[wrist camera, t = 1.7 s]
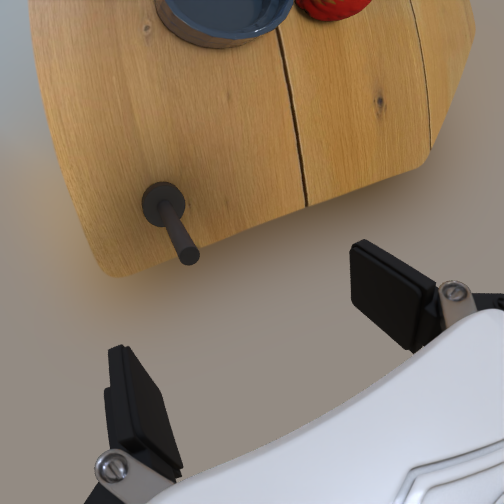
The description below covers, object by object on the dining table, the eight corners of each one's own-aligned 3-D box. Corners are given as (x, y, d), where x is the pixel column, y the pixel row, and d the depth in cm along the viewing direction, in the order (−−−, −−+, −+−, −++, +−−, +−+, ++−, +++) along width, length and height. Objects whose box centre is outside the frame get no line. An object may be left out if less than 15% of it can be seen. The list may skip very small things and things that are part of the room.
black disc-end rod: (149, 227, 32) (170, 294, 21) (136, 190, 30) (147, 239, 19) (186, 213, 34) (228, 271, 22) (175, 175, 31) (212, 214, 20)
